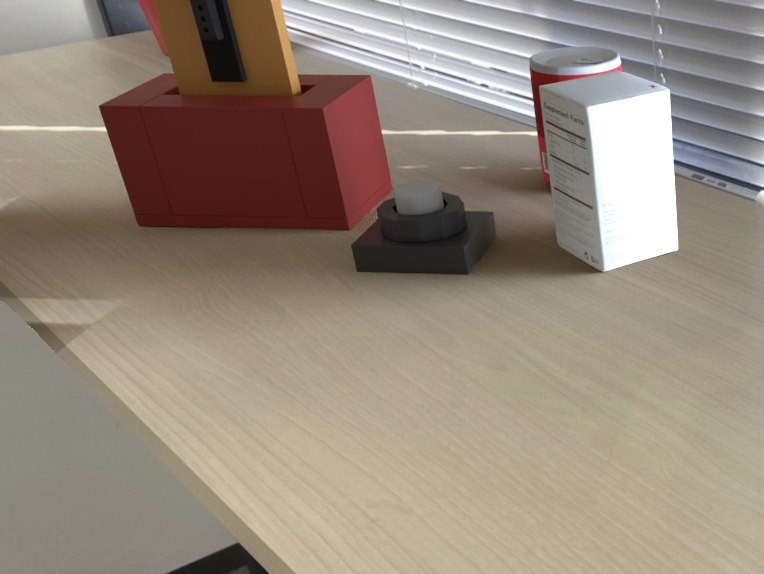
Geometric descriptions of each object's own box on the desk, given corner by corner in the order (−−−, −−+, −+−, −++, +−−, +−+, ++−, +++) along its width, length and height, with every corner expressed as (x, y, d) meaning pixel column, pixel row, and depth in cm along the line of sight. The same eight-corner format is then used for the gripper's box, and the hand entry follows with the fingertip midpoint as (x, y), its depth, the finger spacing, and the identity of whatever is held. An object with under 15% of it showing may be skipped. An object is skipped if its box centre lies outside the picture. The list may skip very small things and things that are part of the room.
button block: (356, 272, 90) (345, 222, 88) (392, 235, 97) (382, 187, 94) (468, 275, 89) (460, 224, 87) (497, 237, 96) (490, 189, 93)
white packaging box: (632, 226, 97) (620, 67, 90) (680, 252, 92) (672, 86, 85) (554, 246, 94) (535, 83, 86) (600, 274, 89) (585, 104, 82)
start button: (390, 218, 90) (386, 195, 89) (406, 202, 93) (402, 180, 91) (435, 219, 89) (431, 196, 88) (450, 203, 92) (446, 181, 91)
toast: (183, 109, 98) (145, -21, 92) (193, 104, 99) (156, -25, 93) (296, 110, 97) (265, -22, 91) (305, 105, 98) (275, -26, 92)
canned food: (626, 196, 103) (616, 66, 97) (537, 197, 104) (521, 67, 97) (633, 169, 110) (624, 45, 103) (549, 170, 110) (535, 46, 103)
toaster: (137, 225, 100) (98, 105, 94) (197, 185, 108) (163, 72, 102) (349, 230, 98) (322, 108, 92) (393, 189, 106) (370, 74, 100)
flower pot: (150, 64, 147) (125, -20, 142) (150, 46, 156) (126, -34, 150) (238, 55, 151) (217, -28, 145) (233, 38, 159) (213, -41, 153)
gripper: (141, -270, 76) (238, 101, 90) (241, -273, 88) (314, 56, 102) (35, -268, 77) (148, 100, 91) (148, -271, 89) (233, 55, 103)
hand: (235, 76), depth 96 cm, fingers closed on toast, 2 cm apart
